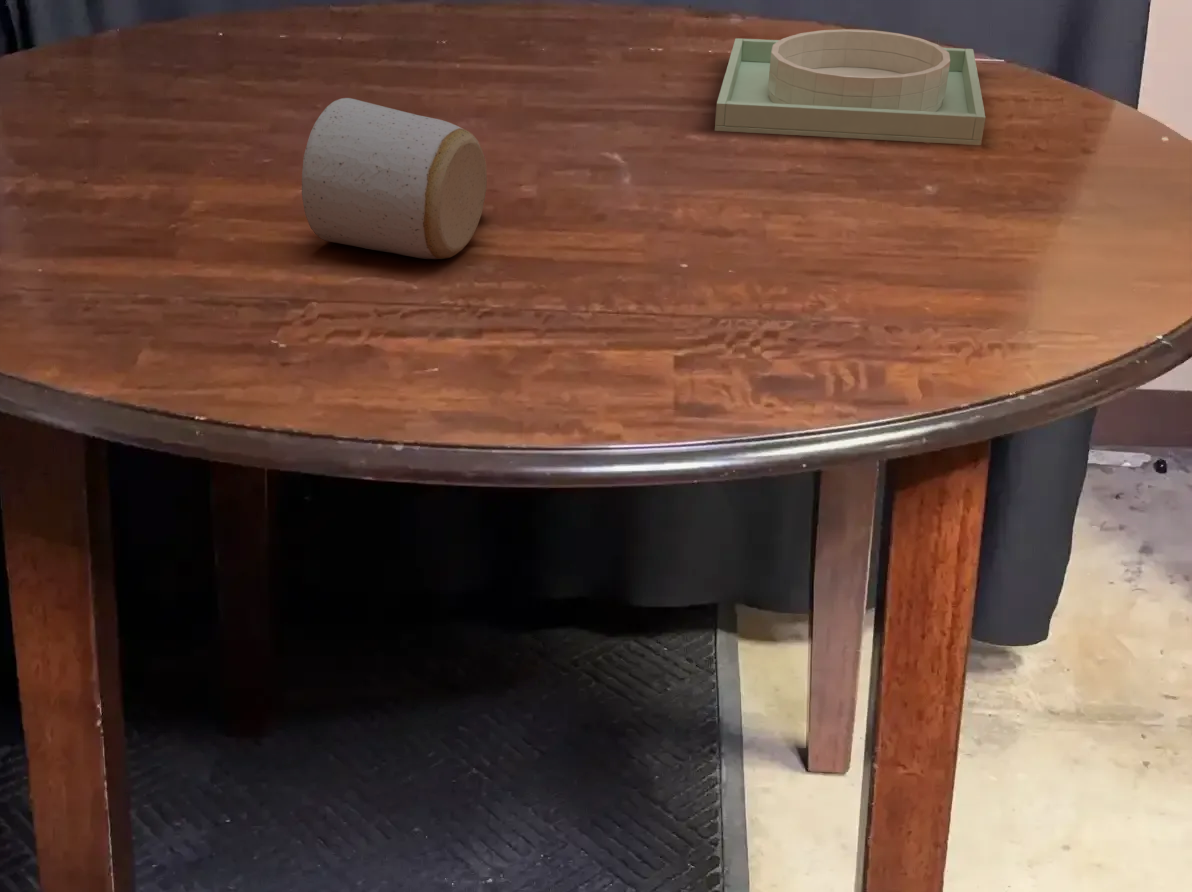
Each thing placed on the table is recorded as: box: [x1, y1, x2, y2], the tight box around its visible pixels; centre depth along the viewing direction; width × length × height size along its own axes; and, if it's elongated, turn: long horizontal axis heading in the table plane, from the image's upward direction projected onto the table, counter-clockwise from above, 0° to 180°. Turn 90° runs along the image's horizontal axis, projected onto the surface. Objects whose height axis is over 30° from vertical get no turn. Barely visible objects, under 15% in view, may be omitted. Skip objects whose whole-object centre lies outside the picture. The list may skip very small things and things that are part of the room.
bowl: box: [768, 28, 950, 112], centre depth 104 cm, size 12×12×3 cm
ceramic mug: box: [301, 97, 488, 260], centre depth 83 cm, size 11×8×8 cm
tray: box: [714, 37, 987, 146], centre depth 105 cm, size 17×16×2 cm
